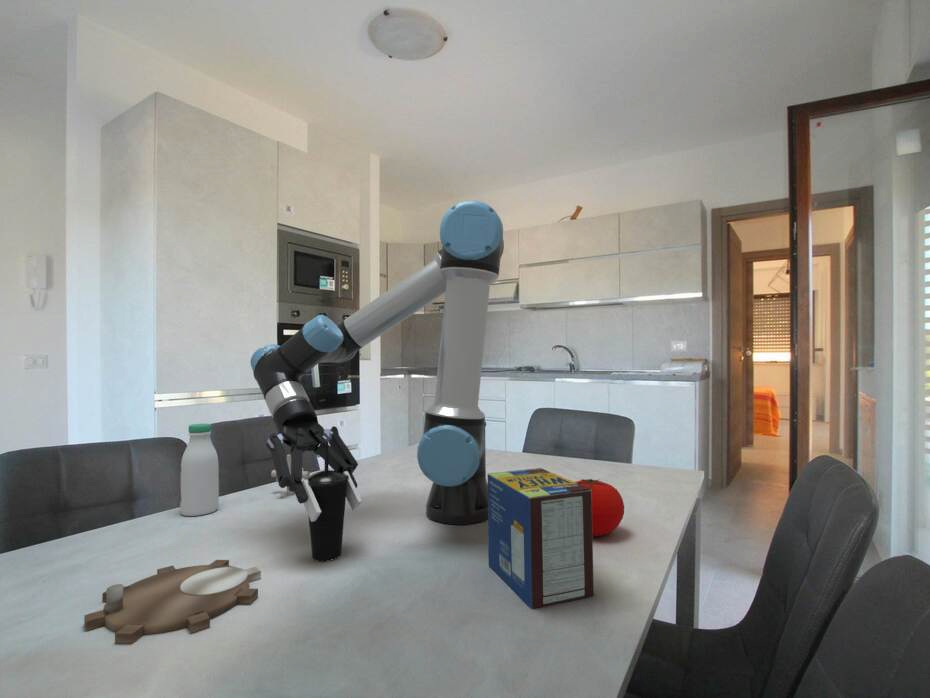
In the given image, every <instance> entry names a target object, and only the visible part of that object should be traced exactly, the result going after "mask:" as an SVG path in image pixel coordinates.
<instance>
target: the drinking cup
mask: <svg viewBox="0 0 930 698" xmlns="http://www.w3.org/2000/svg"><path fill="white" fill-rule="evenodd" d="M328 444H329V442H324V459H323V460H324V461H323V462H324V470H320V471H317V472H315V473H312V474H310V476H309V477H307V478H303V480H306V479H307V480H308V484H309V486H310V487H311V489H312V491H313V493H314V496H315V498H316V500H317V503H318V505H319V507H320V510H321V513H320V515H319V516H318V518H317V519H316V521H313V522H311V520H310V518H309V517H308V523H309V533H310V534H309V535H310V543H311V544H310V547H311V555H312V559H313V560H314V561H316V560H317V561H316V562H328V561H327V560H330V561H332V560H331V559H334V560H336V559H338V558H340V557H341V556H342V555H341V554H342V546H343V533H344V525H345V524H344V522H345V511H346V510H345V509H346V500H347V498H346V489H347V481H348V480H349V476H348V475H346V474H343V473H341V472H338V471H334V470H333V469H332V470H331V469H329V465H328ZM339 556H340V557H339ZM337 557H338V558H337ZM335 558H336V559H335Z"/></svg>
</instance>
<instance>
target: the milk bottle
mask: <svg viewBox="0 0 930 698" xmlns="http://www.w3.org/2000/svg"><path fill="white" fill-rule="evenodd" d="M211 434H212V424H211V423H195V424H189V425H188V435H189V438H188V439H189V440H188V443H187V446H186V448H185V450H184V452H183V454H182V457H181V462H180V481H179V482H180V484H179V487H180V488H179V490H180V491H179V494H180V496H179V497H180V498H179V508H180V514H181V515H182V516H186V517H195V516H196V517H199V516H204V515H208V514H211V513H212V514H213V513H214V512H216V511H217V510H218V509H219V499H220V498H219V497H220V494H219V493H220V492H219V490H220V489H219V487H220V486H219V485H220V484H219V483H220V482H219V479H220V478H219V471H220V470H219V456H218V454H217V450H216V448H215V446H214V445H213V442H212V439H211Z"/></svg>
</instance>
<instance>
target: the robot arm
mask: <svg viewBox="0 0 930 698" xmlns="http://www.w3.org/2000/svg"><path fill="white" fill-rule="evenodd" d="M503 225H504V224H503V223H502V220H501V218H500V216H499V215H498V213H497V211H496V210H495V209H493V207H492V206H490V205H489V204H487V203H486V202H484V201H480V200H471V199H469V200H465V201H461V202H457V203H456V204H454V205H453V206H452V207H450V208H449V209H448V210H447V211H446V212H445V214H444V216H443V217H442V218H441V222H440V225H439V226H440V227H439V239H440V243H441V245H442V247H441V249H440V250H439V251H437V252H436V254H435V258H434V259H433V260H432V261H430V262H428V264H426V265H424V266H423V267H421V268H420V269H418V270H417V271H415V272H414V273H412V274H411V275H409V276H408V277H406V278H405V279H404V280H401V281H400V282H399V283H397V284H396V285H394V286H392V288H390V289H388V290H386V291H385V292H383V294H381V295H379V296H378V297H376V298H375V299H373V300H371V301H370V302H369V303H367V304H366V305H364V306H363V307H362V308H360V309H358V310H357V311H355V312H354V313H353V314H351V315H349V316H348V317H347V318H345V319H344V320H342V321H341V322H339V323H337V324H336V323H335V322H334V321H333V320H332V319H330V318H329V317H327V316H326V315H323V314H319V315H316V316H315V317H314V318H313V319H311V320H310V321H307V322H306V323H305V324H304V325H303V326H302V327H301V328H300V329H299V330H298V331H297V332H295V333H294V334H292V336H291V337H290V338H289V339H288V340H286V341H284V343H283V344H281V345H278V344H267V345H265V346H264V347H259V348H258V349H256V351H254V352H253V354H252V355H251V357H250V361H249V362H250V367H251V370H252V373H253V378H254V379H255V381H256V383H257V385H258V387H259V389H260V391H261V394H262V395H263V398H264V401H265V403H266V405H267V408H268V411H269V414H270V416H271V417H272V420H273V423H274V425H275V427H276V430H277V433H278V434H276V433H270V435H269V437H268V439H267V441H266V444H265V445H266V447H267V448H268V450H269V451H270V453H271V457H272V461H273V465H274V470H276V475H277V477H276V478H277V479H278V482H277V483H278V486H279V488H281V489H284V488H287V487H289V490H290V491H291V492H294V496H295V497H296V500H297V502H298V503H299V504H303V505H304V508H305V510H306V513H307V515H308V519H309V518H310V520H311V522H313V521H316V519H317V518H318V516H319V515H320V513H321V510H320V507H319V505H318V503H317V500H316V498H315V496H314V493H313V491H312V489H311V487H310V486H309V484H308V480H307V479H306V480H304V479H303V478H302V468H303V453H304V452H313V453H314V454H315V455H317V456H319V457H321V458H322V460H324V442H328V467H330V468H332V470H333V471H338V472H341V473H343V474H346V475H348V476H349V480H348V481H347V489H346V500H347V502H348V504H349V506H350V508H351V511H356V510H357V509H358V508H359V506H360V505H361V503H363V500H362V498H361V495H360V493H359V491H358V490H357V488H358V482H357V481H356V478H355V477H354V474H353V473H354V472H355V471H356V469H357V467H358V465H359V462H358V461H357V460H356V458H355V457H354V456H353V454H352V452H351V451H350V449H349V447H347V444H346V443H345V442H344V440H343V439H342V438H341V436H340V434H339V430H338V427H337V426H332V427H331V428H324V427H323V426H322V425H321V424H320V423H319V420H318V416H317V413H316V411H315V409H314V407H313V405H312V403H311V402H310V398H309V396H308V395H307V392H306V391H305V388H304V387H303V384H302V382H301V378H302V377H303V376H304V375H305V376H306V374H308V372H310V371H311V370H312V369H313V368H315V367H316V366H317V365H318V364H321V363H337V364H341V363H345V362H348V361H350V360H351V359H354V357H355V356H356V354H357V352H358V351H359V350H360V351H361V349H362V348H364V347H365V346H367V345H368V344H370V343H372V341H375V340H376V339H377V338H379V337H381V336H382V335H383V334H385V333H387V332H388V331H389V330H391V329H393V328H394V327H396V326H397V325H399V324H401V323H402V322H403V321H405V320H407V319H408V318H410V317H411V316H413V315H414V314H415V313H417V312H419V311H420V310H422V309H423V308H424V307H426V306H428V305H429V304H431V303H432V302H435V300H437V299H438V298H440V297H442V296H443V295H444V305H443V314H442V324H441V333H440V334H441V335H440V341H439V342H440V345H439V353H438V354H439V355H438V364H437V373H436V374H437V375H436V385H435V394H434V395H435V396H434V400H433V403H432V404H431V405H430V406H428V407H427V408H426V409H425V415H424V423H423V425H424V426H423V433H422V437H421V438H420V441H419V443H418V446H417V451H416V455H417V456H416V457H417V459H416V460H417V464H418V467H419V469H420V470H421V472H422V474H423V475H424V476H425V477H426V478H427V479H428V480H429V481H431V482H432V484H431V487H430V491H429V493H428V494H429V495H428V498H427V500H426V506H425V508H426V509H425V510H426V512H425V515H426V517H427V518H428V519H429V520H431V521H433V522H437V523H441V524H449V525H470V524H477V523H482V522H484V521H488V480H487V474H486V473H487V471H486V469H487V465H486V461H487V460H486V453H487V452H486V427H487V421H486V415H485V413H484V412H483V411H482V410H481V409H480V407H479V400H480V399H479V398H480V388H481V377H482V371H483V369H482V367H483V360H484V359H483V358H484V349H485V338H486V330H487V329H486V328H487V319H488V311H489V310H488V307H489V299H490V290H491V289H490V287H491V285H492V284H493V283H494V282H496V280H498V279H499V277H500V268H501V259H502V256H503V254H504V247H505V243H504V226H503ZM283 444H285V445H286V446H288V448H290V451H289V452H290V454H289V455H290V457H291V475H290V471H289V467H288V463H287V455H286V451H285V447H284V445H283ZM302 479H303V480H302Z"/></svg>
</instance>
